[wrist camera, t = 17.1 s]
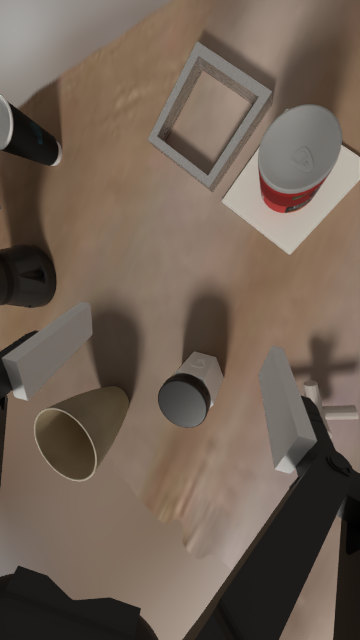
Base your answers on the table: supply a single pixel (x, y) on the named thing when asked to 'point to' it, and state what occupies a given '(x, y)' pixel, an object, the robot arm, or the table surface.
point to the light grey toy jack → (328, 411)
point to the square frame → (193, 68)
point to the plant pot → (81, 431)
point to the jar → (191, 390)
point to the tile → (298, 224)
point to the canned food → (297, 156)
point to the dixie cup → (26, 137)
